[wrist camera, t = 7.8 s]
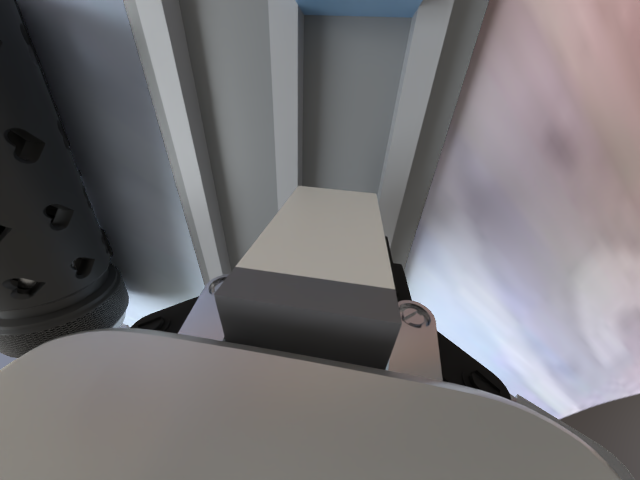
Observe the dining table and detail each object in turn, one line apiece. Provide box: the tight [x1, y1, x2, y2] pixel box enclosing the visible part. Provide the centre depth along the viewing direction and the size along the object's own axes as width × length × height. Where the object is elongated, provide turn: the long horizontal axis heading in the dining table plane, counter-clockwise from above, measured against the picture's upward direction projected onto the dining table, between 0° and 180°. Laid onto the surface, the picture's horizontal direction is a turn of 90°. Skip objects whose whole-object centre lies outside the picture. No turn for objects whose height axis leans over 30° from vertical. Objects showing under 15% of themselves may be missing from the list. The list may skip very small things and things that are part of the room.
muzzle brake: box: [0, 0, 129, 358], centre depth 18 cm, size 10×28×10 cm, turn 169°
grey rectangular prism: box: [214, 186, 402, 370], centre depth 10 cm, size 6×4×8 cm, turn 177°
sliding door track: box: [123, 0, 489, 286], centre depth 17 cm, size 24×20×4 cm
